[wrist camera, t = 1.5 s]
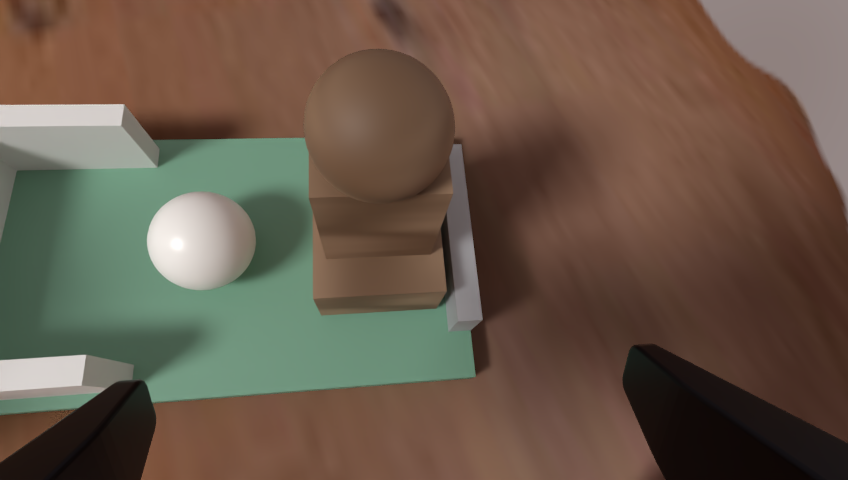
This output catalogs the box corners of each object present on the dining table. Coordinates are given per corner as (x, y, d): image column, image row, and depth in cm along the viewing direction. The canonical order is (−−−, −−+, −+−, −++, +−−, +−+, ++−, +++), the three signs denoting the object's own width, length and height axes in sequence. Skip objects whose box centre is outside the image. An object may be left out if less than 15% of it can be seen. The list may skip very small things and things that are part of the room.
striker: (425, 186, 23) (473, -17, 12) (435, 308, 21) (506, 196, 10) (319, 189, 23) (272, -22, 12) (321, 315, 21) (265, 203, 10)
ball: (220, 318, 20) (186, 297, 17) (150, 264, 21) (102, 231, 17) (283, 248, 22) (265, 213, 18) (216, 198, 22) (185, 155, 18)
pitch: (445, 146, 26) (460, 93, 21) (471, 378, 22) (495, 369, 17) (14, 153, 23) (-66, 94, 19) (-48, 419, 19) (-166, 420, 15)
